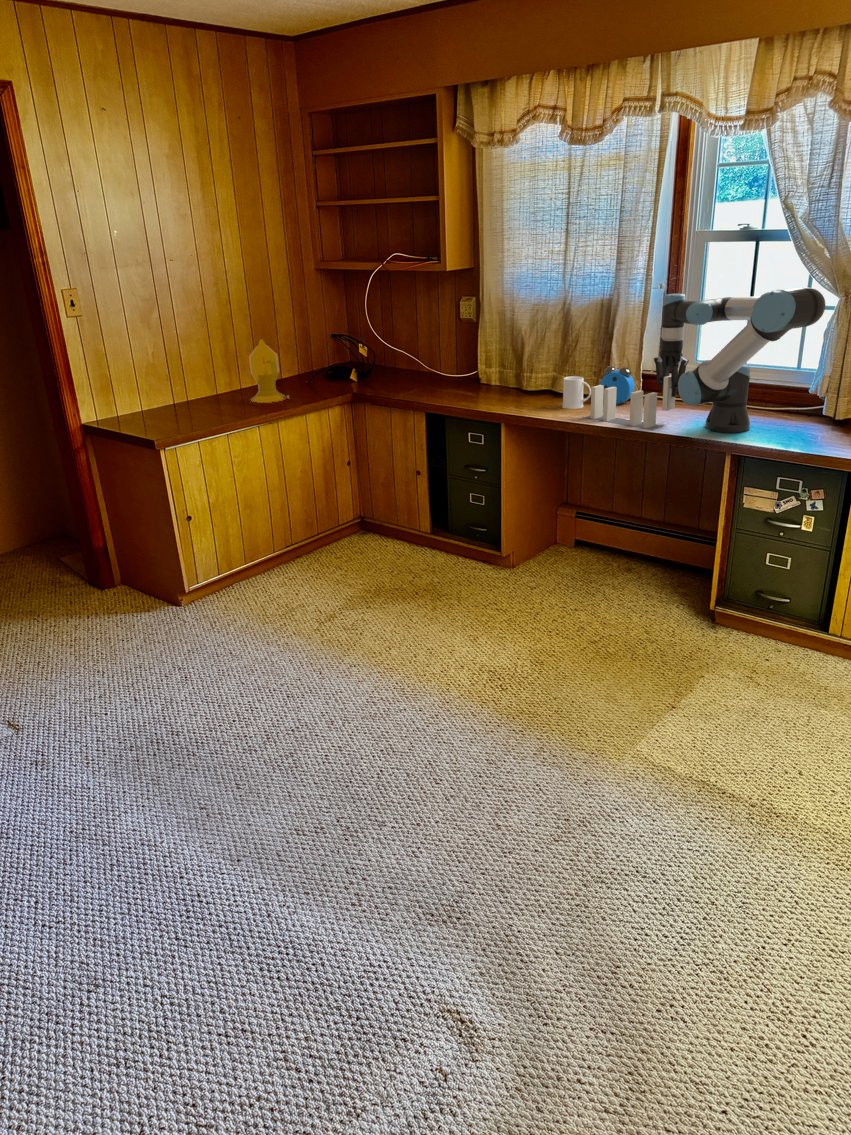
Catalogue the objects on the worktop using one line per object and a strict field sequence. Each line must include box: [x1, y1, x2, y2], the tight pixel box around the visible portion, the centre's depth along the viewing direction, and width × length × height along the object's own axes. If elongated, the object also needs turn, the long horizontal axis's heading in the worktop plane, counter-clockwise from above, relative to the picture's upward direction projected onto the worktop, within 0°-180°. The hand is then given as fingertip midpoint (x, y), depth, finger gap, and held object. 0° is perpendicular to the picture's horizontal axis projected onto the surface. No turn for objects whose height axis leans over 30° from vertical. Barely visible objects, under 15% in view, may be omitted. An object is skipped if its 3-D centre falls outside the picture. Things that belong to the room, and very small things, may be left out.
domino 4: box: [642, 391, 658, 428], centre depth 305 cm, size 2×5×12 cm, turn 132°
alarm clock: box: [599, 365, 636, 405], centre depth 344 cm, size 13×6×15 cm, turn 55°
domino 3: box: [629, 389, 644, 426], centre depth 309 cm, size 2×5×12 cm, turn 131°
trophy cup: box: [248, 338, 290, 403], centre depth 378 cm, size 18×24×28 cm
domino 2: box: [603, 387, 617, 421], centre depth 318 cm, size 2×5×12 cm, turn 131°
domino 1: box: [590, 384, 604, 419], centre depth 322 cm, size 2×5×12 cm, turn 132°
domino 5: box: [661, 374, 676, 411], centre depth 306 cm, size 2×5×12 cm, turn 131°
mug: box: [562, 375, 591, 410], centre depth 341 cm, size 12×8×12 cm
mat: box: [582, 414, 665, 431], centre depth 316 cm, size 32×8×1 cm, turn 41°
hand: (668, 405), depth 308 cm, fingers closed on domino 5, 2 cm apart
